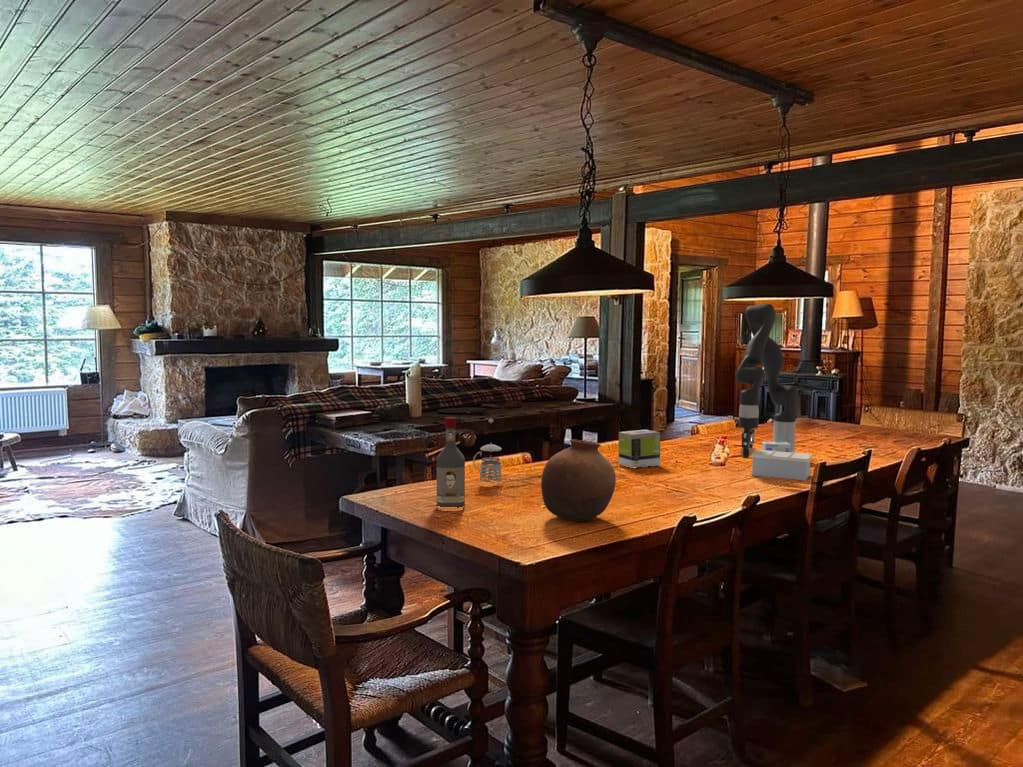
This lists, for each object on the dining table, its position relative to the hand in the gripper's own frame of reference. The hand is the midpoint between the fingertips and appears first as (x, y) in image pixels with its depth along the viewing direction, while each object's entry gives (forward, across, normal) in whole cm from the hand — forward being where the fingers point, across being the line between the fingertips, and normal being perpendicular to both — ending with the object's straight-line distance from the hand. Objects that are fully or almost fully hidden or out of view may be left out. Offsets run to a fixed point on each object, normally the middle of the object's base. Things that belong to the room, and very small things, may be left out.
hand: (747, 456), depth 301 cm
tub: (+7, 0, +13) cm, 15 cm away
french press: (+7, +68, -82) cm, 106 cm away
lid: (-1, 0, +11) cm, 11 cm away
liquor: (+8, +104, -75) cm, 129 cm away
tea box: (+7, +4, -44) cm, 45 cm away
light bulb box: (+7, -20, +8) cm, 22 cm away
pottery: (+8, +96, -33) cm, 102 cm away
